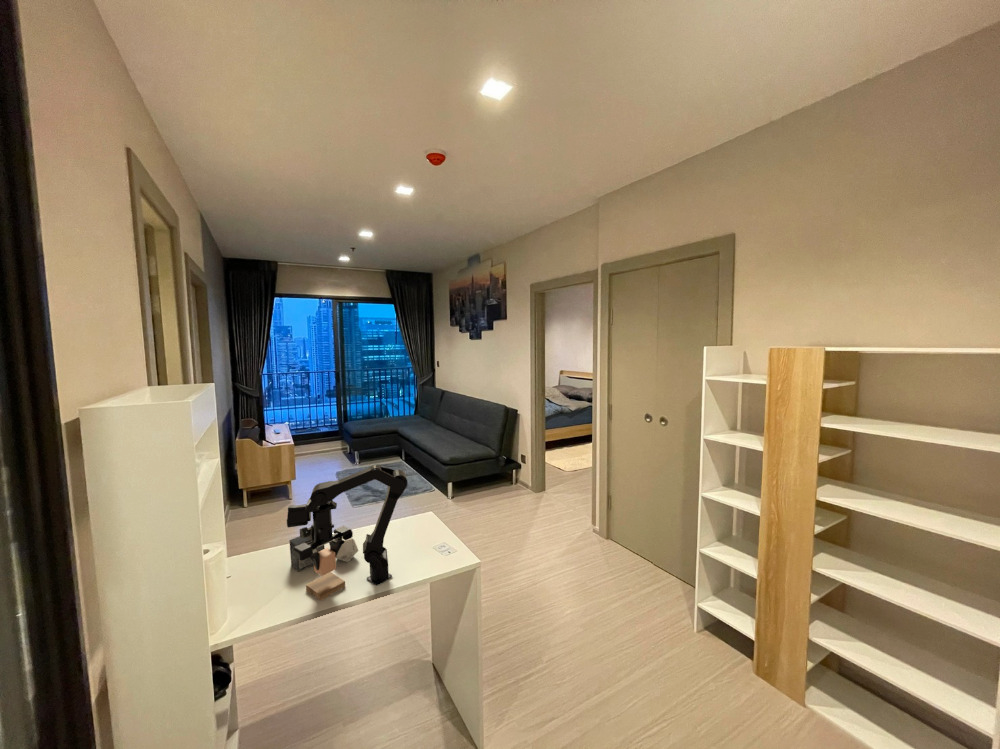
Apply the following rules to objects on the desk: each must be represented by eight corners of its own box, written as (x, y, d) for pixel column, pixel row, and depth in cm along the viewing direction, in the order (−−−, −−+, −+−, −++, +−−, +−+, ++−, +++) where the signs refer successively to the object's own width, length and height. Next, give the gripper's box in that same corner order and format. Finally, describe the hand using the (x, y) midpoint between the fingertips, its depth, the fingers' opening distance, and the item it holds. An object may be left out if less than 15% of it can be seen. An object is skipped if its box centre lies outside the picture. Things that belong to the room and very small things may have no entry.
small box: (317, 553, 159) (316, 528, 158) (326, 559, 155) (324, 533, 154) (290, 565, 151) (288, 539, 150) (298, 572, 147) (296, 545, 146)
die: (335, 569, 149) (351, 548, 149) (323, 551, 154) (338, 531, 153) (351, 566, 157) (366, 546, 157) (339, 549, 161) (354, 529, 161)
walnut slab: (345, 586, 138) (345, 581, 138) (320, 600, 131) (320, 594, 131) (330, 577, 144) (330, 571, 143) (306, 590, 137) (305, 584, 136)
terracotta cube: (336, 569, 137) (335, 552, 137) (322, 576, 133) (321, 559, 133) (328, 564, 140) (327, 547, 140) (314, 570, 136) (313, 554, 136)
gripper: (334, 506, 147) (336, 546, 149) (282, 526, 132) (285, 570, 134) (352, 514, 141) (354, 556, 142) (299, 536, 126) (302, 582, 127)
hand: (325, 565), depth 137 cm, fingers closed on terracotta cube, 5 cm apart
